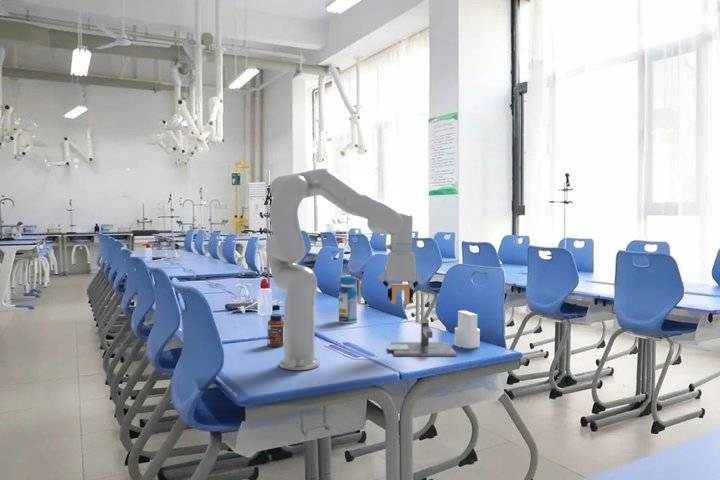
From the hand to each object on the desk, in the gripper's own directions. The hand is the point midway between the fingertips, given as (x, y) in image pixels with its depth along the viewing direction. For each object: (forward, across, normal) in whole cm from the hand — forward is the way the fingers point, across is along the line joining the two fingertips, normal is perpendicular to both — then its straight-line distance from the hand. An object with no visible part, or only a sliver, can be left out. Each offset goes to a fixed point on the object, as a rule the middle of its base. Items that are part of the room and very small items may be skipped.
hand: (400, 299), depth 193 cm
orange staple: (+1, 0, 0) cm, 1 cm away
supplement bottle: (+19, -44, +7) cm, 49 cm away
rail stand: (+18, +8, +1) cm, 20 cm away
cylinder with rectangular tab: (+18, +26, +9) cm, 33 cm away
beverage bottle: (+18, -19, +51) cm, 58 cm away
